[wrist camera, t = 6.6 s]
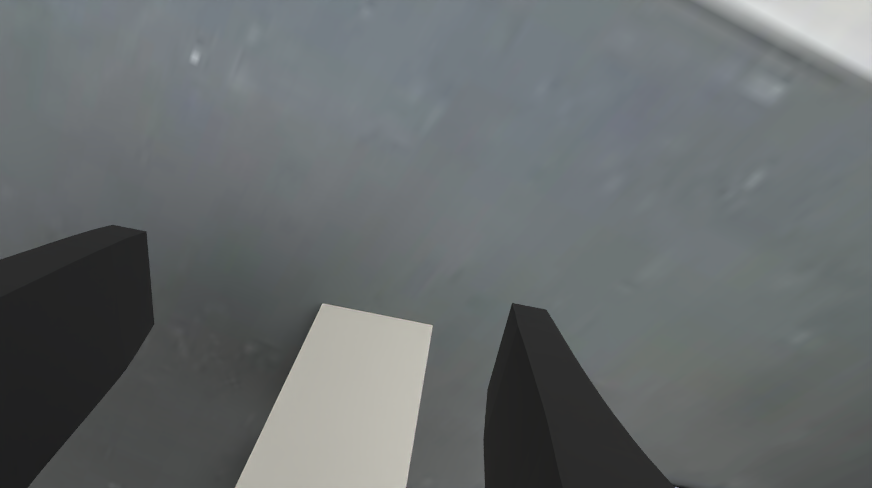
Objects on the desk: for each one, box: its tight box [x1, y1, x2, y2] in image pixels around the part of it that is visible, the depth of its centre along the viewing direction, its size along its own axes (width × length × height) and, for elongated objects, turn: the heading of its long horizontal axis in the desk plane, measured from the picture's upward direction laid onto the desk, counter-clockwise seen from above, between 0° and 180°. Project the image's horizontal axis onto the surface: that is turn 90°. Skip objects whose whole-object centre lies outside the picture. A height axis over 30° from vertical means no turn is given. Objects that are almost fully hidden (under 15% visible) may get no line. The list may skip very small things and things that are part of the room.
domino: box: [235, 303, 433, 488], centre depth 19 cm, size 4×2×9 cm, turn 80°
